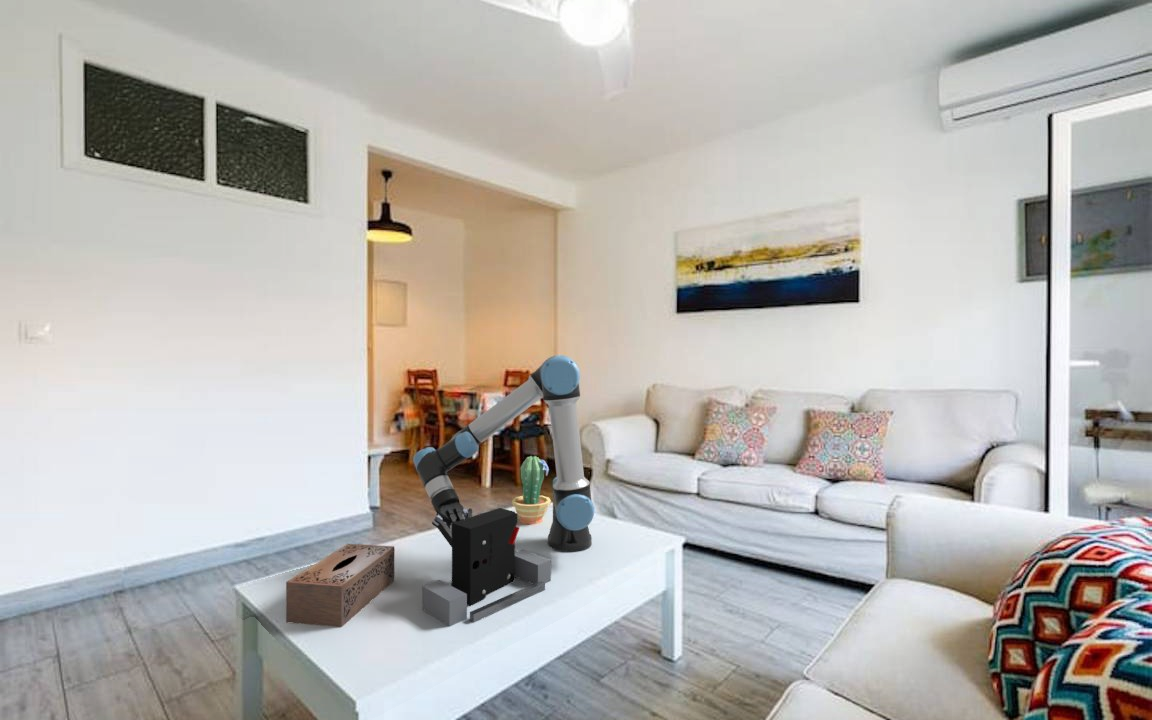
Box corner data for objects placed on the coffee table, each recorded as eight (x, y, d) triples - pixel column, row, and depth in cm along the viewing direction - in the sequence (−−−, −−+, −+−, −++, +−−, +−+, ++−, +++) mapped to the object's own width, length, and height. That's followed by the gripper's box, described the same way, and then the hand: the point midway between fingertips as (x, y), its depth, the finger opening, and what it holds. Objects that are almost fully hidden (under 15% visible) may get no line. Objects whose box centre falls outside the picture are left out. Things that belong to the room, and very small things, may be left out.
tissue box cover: (341, 628, 123) (341, 586, 123) (286, 623, 125) (286, 582, 125) (394, 581, 149) (394, 546, 149) (347, 578, 151) (347, 543, 151)
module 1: (439, 602, 136) (439, 579, 136) (466, 618, 127) (466, 594, 127) (422, 609, 132) (422, 585, 132) (449, 626, 124) (449, 601, 124)
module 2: (522, 569, 157) (522, 549, 157) (550, 580, 149) (550, 560, 149) (510, 574, 153) (510, 553, 153) (538, 586, 145) (538, 565, 145)
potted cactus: (536, 529, 192) (536, 462, 192) (503, 522, 200) (503, 457, 200) (558, 518, 206) (558, 455, 205) (526, 512, 214) (527, 451, 213)
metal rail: (541, 587, 144) (541, 580, 144) (545, 589, 143) (545, 582, 143) (469, 620, 127) (469, 612, 127) (473, 622, 126) (473, 614, 126)
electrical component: (494, 573, 154) (494, 506, 153) (519, 583, 147) (519, 512, 147) (446, 595, 140) (446, 521, 139) (472, 607, 133) (472, 529, 133)
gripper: (455, 497, 162) (488, 566, 151) (418, 506, 152) (450, 580, 141) (465, 483, 158) (500, 552, 147) (428, 491, 149) (461, 566, 138)
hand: (475, 566), depth 144 cm, fingers closed
